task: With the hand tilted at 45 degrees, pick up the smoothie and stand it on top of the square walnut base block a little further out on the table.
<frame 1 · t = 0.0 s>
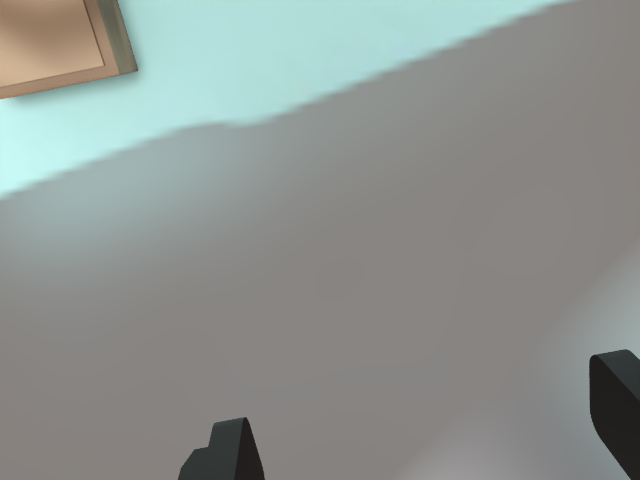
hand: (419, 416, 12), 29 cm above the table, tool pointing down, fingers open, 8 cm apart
base: (51, 14, 36), on the table
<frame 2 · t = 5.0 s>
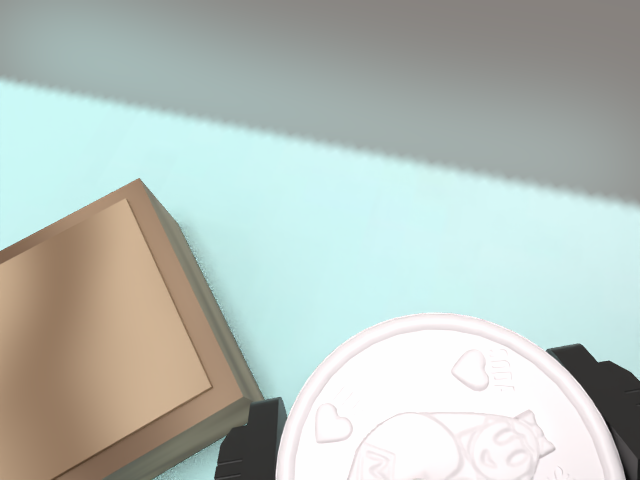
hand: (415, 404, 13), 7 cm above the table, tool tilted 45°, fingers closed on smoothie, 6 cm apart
smoothie: (415, 474, 19), on the table, touching gripper
base: (119, 365, 21), on the table
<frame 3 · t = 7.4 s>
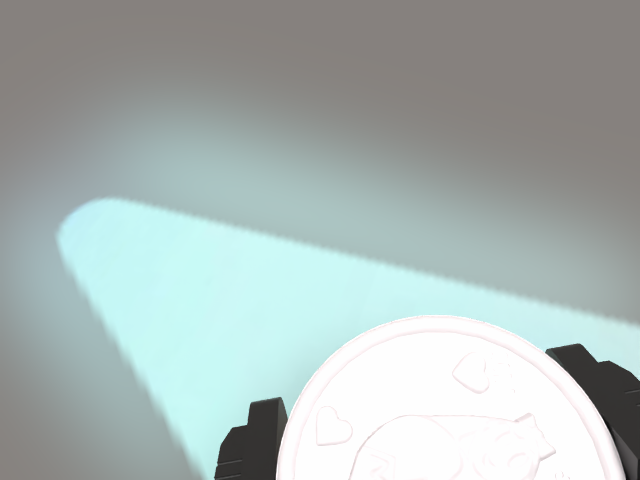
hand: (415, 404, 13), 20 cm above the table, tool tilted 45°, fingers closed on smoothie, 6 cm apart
smoothie: (416, 476, 19), point 13 cm above the table, touching gripper
when the fingers open (12 cm above the table, at t = 9.9 s): smoothie stays where it is, resting on base.
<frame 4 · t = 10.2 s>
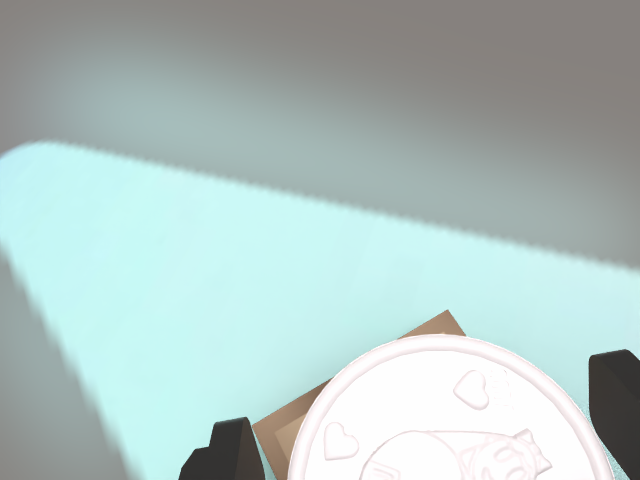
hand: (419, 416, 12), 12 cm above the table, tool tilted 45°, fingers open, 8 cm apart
base: (410, 473, 23), on the table
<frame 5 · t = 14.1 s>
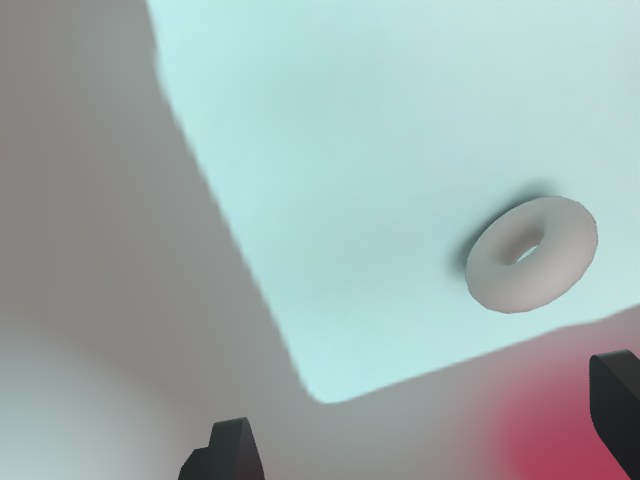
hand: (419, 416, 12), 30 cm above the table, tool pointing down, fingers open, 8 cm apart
donut: (501, 228, 44), on the table
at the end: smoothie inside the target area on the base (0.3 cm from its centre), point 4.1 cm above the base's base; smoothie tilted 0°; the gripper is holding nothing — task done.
